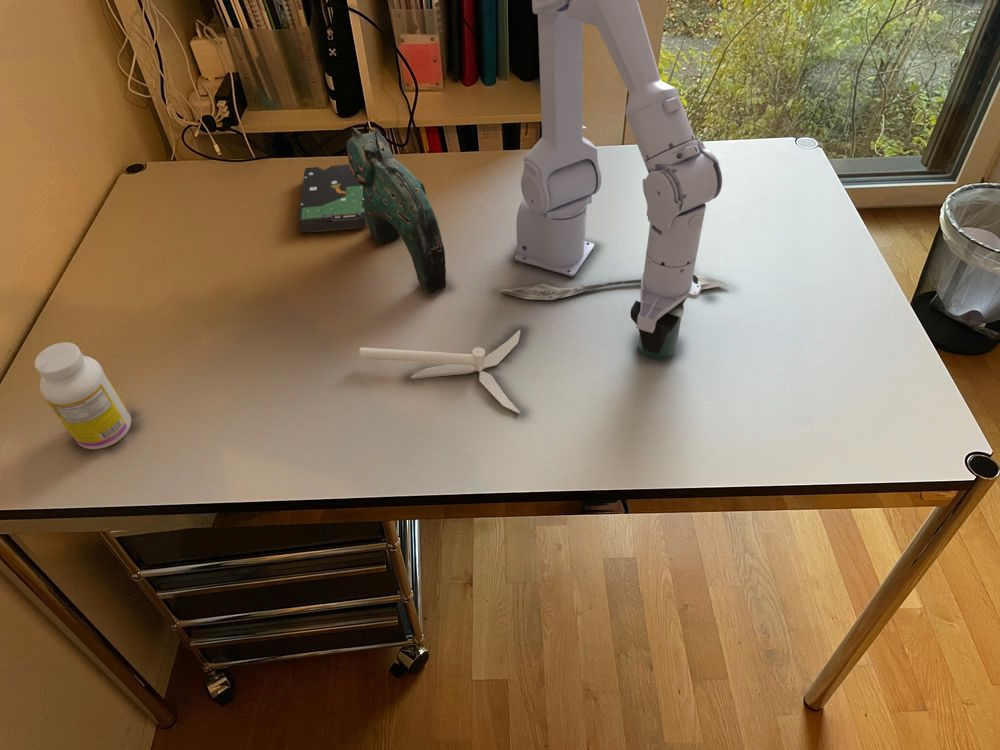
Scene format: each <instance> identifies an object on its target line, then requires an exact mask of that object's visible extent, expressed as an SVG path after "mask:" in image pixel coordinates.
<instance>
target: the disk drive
mask: <svg viewBox="0 0 1000 750" xmlns="http://www.w3.org/2000/svg"><path fill="white" fill-rule="evenodd" d="M297 220H298V224H299V228H300V231H301V233H305V232H306V233H308V232H309V233H315V232H326V231H337V230H348V229H349V230H351V229H361V228H364V227H367V225H368V222H367V218H366V214H365V203H364V195H363V185H362V184H360V183H359V182H358V180H357V179H356V178H354V176H353V174H352V172H351V170H350V167H349V164H338V165H337V164H335V165H331V166H329V167H326V168H325V169H324V168H320V167H319V166H312V167H305V168H304V171H303V180H302V189H301V197H300V203H299V209H298V219H297Z"/></svg>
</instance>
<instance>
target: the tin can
mask: <svg viewBox="0 0 1000 750" xmlns="http://www.w3.org/2000/svg"><path fill="white" fill-rule="evenodd" d="M684 310H685V306H684V304H683V303H682V302H680V303H679V304H678V305H676V306H675V307H674V308H672V309H671V310H670V311H668V312H667V313H669V314H672V315H675V316H679V317H680V318H679V320H678V322H677V323H676V325H675V327H674V328H673V329H672V330H671V331H670V332H669V333H668V334H667V336H666V339H665V342H664V344H663V346H662V348H661V350H660V352H659V353H658V354H656V353H653V352H649V351H646V350H644V349H643V347H642V342H641V337H640V335H639V337H638V343H637V346H638V350H639V351H640V353H641V354H642V355H643V356H644V357H647V358H649V359H652V360H659V361H660V360H666V359H669V358H670V357H672V356H673V355H674V354H675V353H676V350H677V344H678V338H679V333H680V329H681V323H682V317H683V315H684Z"/></svg>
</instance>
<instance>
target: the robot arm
mask: <svg viewBox="0 0 1000 750" xmlns="http://www.w3.org/2000/svg"><path fill="white" fill-rule="evenodd" d="M531 7H532V13H533V14H534V15H537V30H538V31H537V33H538V60H539V61H538V62H539V88H540V89H539V90H540V115H541V116H540V117H541V118H540V119H541V137H540V138H539V140H538V141H537V142H536V143H535V144H534V145H533V147H531V149H530V150H529V151H528V152H526V154H525V156H524V157H523V172H522V175H521V179H520V189H521V193H522V196H523V198H522V200H521V202H520V204H519V207H518V210H517V214H516V221H515V223H516V226H515V227H516V254H515V256H514V260H515V261H518V262H521V263H523V264H528V265H531V266H534V267H538V268H541V269H544V270H547V271H552V272H555V273H557V274H562V275H565V276H568V277H575V276H576V274H577V273H578V271H580V269H581V267H582V266H583V264H584V263H585V262H586V260H587V259H588V257H589V256H590V255H591V252H593V250H594V249H595V243H594V242H591V241H587V240H586V230H587V229H586V227H587V226H586V225H587V207H588V205H590V204H592V202H593V201H592V200H593V199H592V198H593V195H596V194H597V193H599V191H600V189H601V186H602V180H603V179H602V178H603V177H602V170H601V165H600V163H599V156H598V153H599V152H598V148H597V147H596V145H594V143H593V142H592V141H591V140H589V139H587V137H584V135H583V134H584V131H583V130H584V127H583V126H584V125H583V122H584V117H583V116H584V113H583V112H584V107H583V106H584V24H587V25H591V26H594V27H596V29H597V30H598V32H599V34H600V36H601V39H602V40H603V42H604V44H605V47H606V49H607V51H608V53H609V55H610V57H611V59H612V62H613V63H614V65H615V67H616V70H617V71H618V73H619V76H620V78H621V79H622V82H623V84H624V87H625V88H626V90H627V92H628V94H629V97H628V100H627V104H626V107H625V110H624V114H625V116H626V119H627V121H628V124H629V126H630V128H631V132H632V135H633V138H634V140H635V143H636V145H637V147H638V150H639V153H640V155H641V158H642V160H643V163H644V165H645V168H646V170H647V173H648V174H647V176H646V177H645V178H642V190H643V195H644V198H645V201H646V207H647V208H646V217H647V221H648V222H649V229H648V237H647V245H646V250H645V251H646V252H645V258H644V259H645V260H644V267H643V268H644V269H643V273H642V275H641V277H640V279H641V283H640V300H635V301H634V303H633V305H632V307H631V308H630V318H631V320H632V321H633V322H634V324H635V325H636V327H635V328H636V329H637V330H638V332H639V336H640V337H641V342H642V347H643V349H644V350H646V351H649V352H653V353H656V354H658V353H659V352H660V350H661V348H662V346H663V344H664V342H665V339H666V336H667V334H668V333H669V332H670V331H671V330H672V329H673V328H674V327H675V325H676V323H677V322H678V320H679V318H680V317H679V316H675V315H672V314H669V313H667V312H668V311H670V310H671V309H672V308H674V307H675V306H676V305H678V304H679V303H680V302H682V303H683V305H684V303H685V302H686V301H687V299H693V300H696V299H698V297H699V295H700V293H701V291H702V290H701V286H700V285H698V278H697V277H696V276H697V275H696V276H695V274H694V272H695V267H696V262H697V257H698V251H699V245H700V241H701V235H702V230H703V223H704V219H705V213H706V207H707V203H709V202H711V201H713V200H715V199H716V198H717V197H718V196H719V195H720V193H721V191H722V187H723V175H722V170H721V167H720V162H719V160H718V159H717V157H716V155H714V153H713V152H712V151H710V150H709V149H708V148H707V147H706V146H705V144H704V142H703V141H702V139H700V138H699V139H696V136H695V135H694V131H693V128H692V126H691V124H690V121H689V118H688V115H687V113H686V110H685V107H684V105H683V103H682V100H681V97H680V95H679V92H678V90H677V88H676V87H675V86H674V85H670V84H669V83H667V82H665V81H663V80H662V78H661V75H660V71H659V68H658V65H657V61H656V58H655V55H654V51H653V48H652V43H651V41H650V38H649V34H648V31H647V27H646V24H645V21H644V17H643V14H642V10H641V7H640V3H639V0H531Z"/></svg>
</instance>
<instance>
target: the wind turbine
mask: <svg viewBox="0 0 1000 750" xmlns="http://www.w3.org/2000/svg"><path fill="white" fill-rule="evenodd" d="M521 331H522V330H517V331H516V332H515V333H514V334H513V335H512V336H511V337H510V338H509V339H508V340H506V341H505V342H504V343H503V344H501V345H500V346H498V347H497V348H496V349H494V350H493V351H491V352H490V353H489V354H487V355H486V350H485V349H484V348H483V347H475V348H473V349H472V353H457V352H443V351H441V352H440V351H428V350H427V351H424V350H409V349H394V348H393V349H392V348H391V349H390V348H377V347H362V346H361V347H360V348H359V351H358V354H359V355H358V356H359V359H363V360H364V359H366V360H380V361H381V360H383V361H396V362H397V361H399V362H414V363H428V364H429V363H430V364H443V365H437V366H429V367H426V368H424V369H422V370H420V371H417V372H416V373H414V374H412V375H411V376H409V377H410V378H411V379H412V380H417V379H424V378H425V379H426V378H432V377H446V376H456V375H467V374H471V373H475V372H478V373H479V378H478V381H479V383H481V384H482V385H483V387H484V388H485V389H486V390H487V391H488V392H489V393H490V394H491V395H492V396H493V397H494V398H495V399H496V400H497V401H498V403H499V404H501V405H502V407H505V408H507V409H509V410H510V411H513V412H515V413H517V414H520V409H518V408H517V407H516V406H515V404H514V403H512V401H511V400H510V399H509V398H508V397H507V395H506V393H504V391H503V390H502V388H501V387H500V385H499V384H498V382H497V381H496V380H495V378H494V377H493V376H492V374H491V373H488V372H486V371H483V370H484V369H488V368H491V367H494V366H497V365H499V364H500V362H502V360H503V359H504V358H505V357H506V356H508V354H509V353H510V352H511V351H512V350H513V349H514V348H515V347H516V346H517V345H518V343H519V340H520V336H521Z"/></svg>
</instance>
